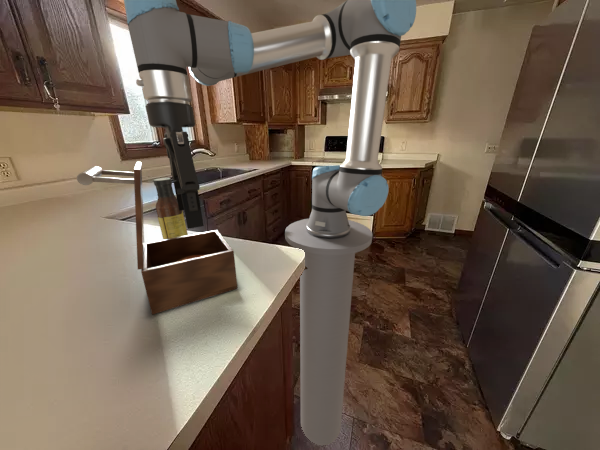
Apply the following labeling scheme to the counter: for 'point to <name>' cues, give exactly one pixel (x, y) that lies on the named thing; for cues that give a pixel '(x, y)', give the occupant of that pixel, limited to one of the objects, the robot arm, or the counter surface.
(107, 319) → the counter surface
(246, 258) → the counter surface
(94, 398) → the counter surface
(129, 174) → the lid
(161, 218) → the sauce bottle
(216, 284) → the brown wooden box
